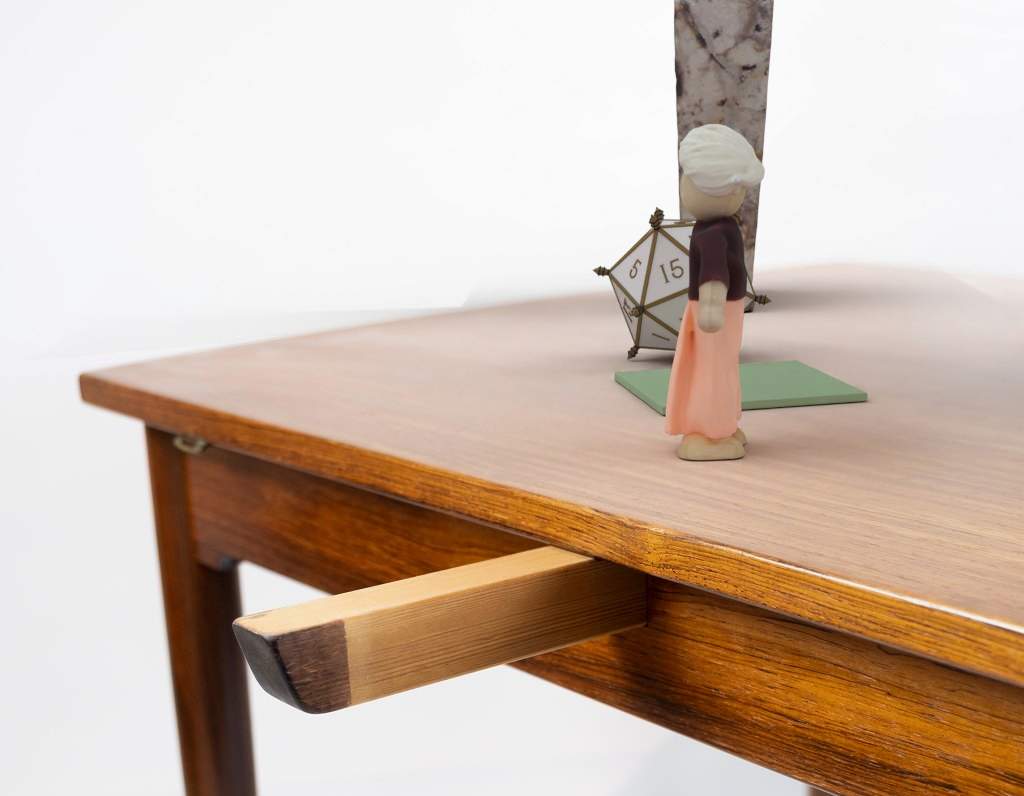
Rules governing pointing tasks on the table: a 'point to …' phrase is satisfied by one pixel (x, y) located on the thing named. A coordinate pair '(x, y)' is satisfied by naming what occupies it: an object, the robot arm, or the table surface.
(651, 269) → the game die
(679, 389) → the grandmother figurine
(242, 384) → the table surface
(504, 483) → the table surface
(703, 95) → the stone block
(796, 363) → the mat
